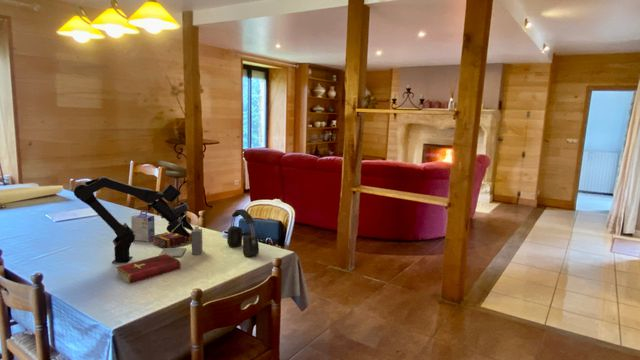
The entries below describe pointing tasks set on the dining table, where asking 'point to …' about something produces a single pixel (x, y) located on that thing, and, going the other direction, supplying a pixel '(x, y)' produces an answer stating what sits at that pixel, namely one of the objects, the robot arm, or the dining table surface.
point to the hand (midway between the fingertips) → (191, 232)
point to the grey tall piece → (196, 241)
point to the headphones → (249, 240)
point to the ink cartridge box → (143, 226)
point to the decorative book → (170, 239)
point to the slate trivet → (173, 252)
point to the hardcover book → (148, 268)
